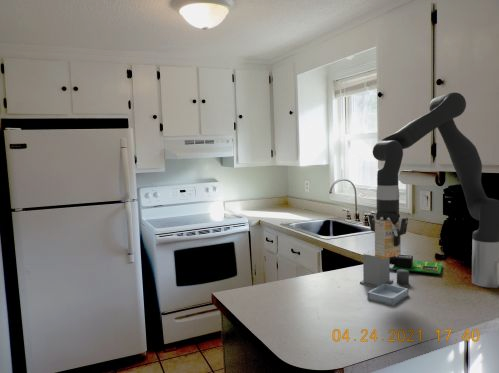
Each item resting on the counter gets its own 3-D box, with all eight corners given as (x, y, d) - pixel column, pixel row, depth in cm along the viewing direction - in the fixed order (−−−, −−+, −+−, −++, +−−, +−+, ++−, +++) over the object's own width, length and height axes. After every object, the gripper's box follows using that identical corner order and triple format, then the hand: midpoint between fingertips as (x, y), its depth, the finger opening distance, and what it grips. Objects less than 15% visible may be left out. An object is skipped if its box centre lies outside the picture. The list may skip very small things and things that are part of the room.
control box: (393, 282, 159) (393, 250, 158) (381, 288, 152) (380, 255, 151) (372, 277, 166) (372, 246, 165) (359, 283, 159) (359, 251, 158)
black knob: (411, 283, 157) (410, 270, 157) (404, 285, 154) (404, 273, 154) (400, 280, 161) (400, 268, 160) (394, 283, 158) (394, 270, 158)
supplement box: (384, 259, 138) (384, 221, 137) (374, 256, 142) (374, 220, 141) (401, 255, 142) (401, 219, 141) (391, 252, 146) (390, 217, 145)
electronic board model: (442, 251, 176) (440, 260, 163) (442, 267, 177) (440, 276, 164) (373, 246, 191) (366, 253, 178) (373, 260, 191) (366, 268, 178)
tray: (408, 295, 145) (408, 288, 144) (392, 305, 136) (392, 298, 136) (383, 289, 151) (383, 283, 151) (367, 298, 143) (367, 292, 142)
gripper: (363, 197, 143) (364, 244, 144) (402, 200, 133) (403, 250, 134) (374, 195, 148) (374, 240, 150) (412, 197, 138) (412, 245, 139)
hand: (388, 244), depth 142 cm, fingers closed on supplement box, 5 cm apart
